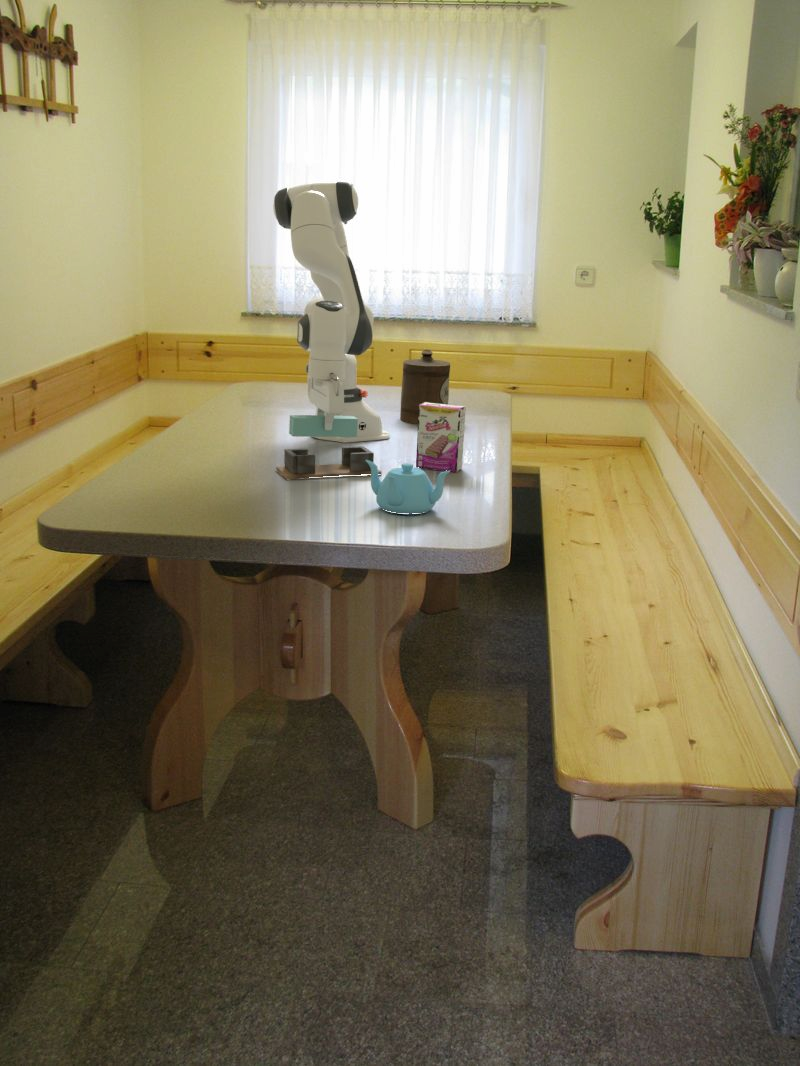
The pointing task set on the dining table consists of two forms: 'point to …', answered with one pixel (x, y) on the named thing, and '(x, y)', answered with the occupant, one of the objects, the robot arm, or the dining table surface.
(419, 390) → the wooden container
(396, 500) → the teapot
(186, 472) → the dining table surface
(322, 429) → the slat
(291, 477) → the sharpening stone holder
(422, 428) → the candy bar box
